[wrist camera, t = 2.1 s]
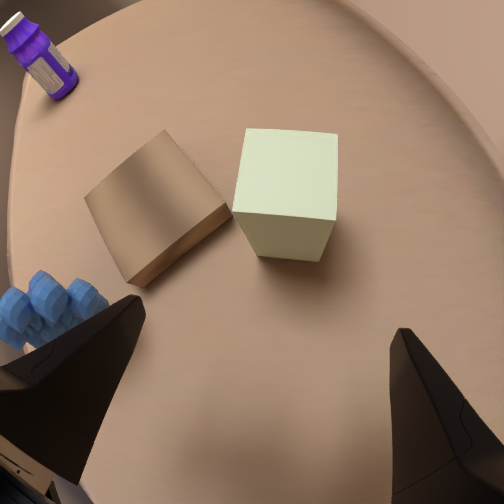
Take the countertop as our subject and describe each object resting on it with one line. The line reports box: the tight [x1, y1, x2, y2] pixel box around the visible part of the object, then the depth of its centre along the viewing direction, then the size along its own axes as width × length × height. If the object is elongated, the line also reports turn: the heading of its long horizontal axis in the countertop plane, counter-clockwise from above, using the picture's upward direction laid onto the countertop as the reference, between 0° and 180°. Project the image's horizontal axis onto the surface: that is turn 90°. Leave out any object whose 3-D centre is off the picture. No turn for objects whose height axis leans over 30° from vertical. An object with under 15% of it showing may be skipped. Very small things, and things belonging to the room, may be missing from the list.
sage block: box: [232, 129, 338, 262], centre depth 19 cm, size 5×5×10 cm
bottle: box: [0, 12, 77, 99], centre depth 26 cm, size 7×6×17 cm
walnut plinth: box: [84, 129, 233, 287], centre depth 25 cm, size 10×10×3 cm
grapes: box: [0, 270, 109, 351], centre depth 19 cm, size 12×7×12 cm, turn 114°
